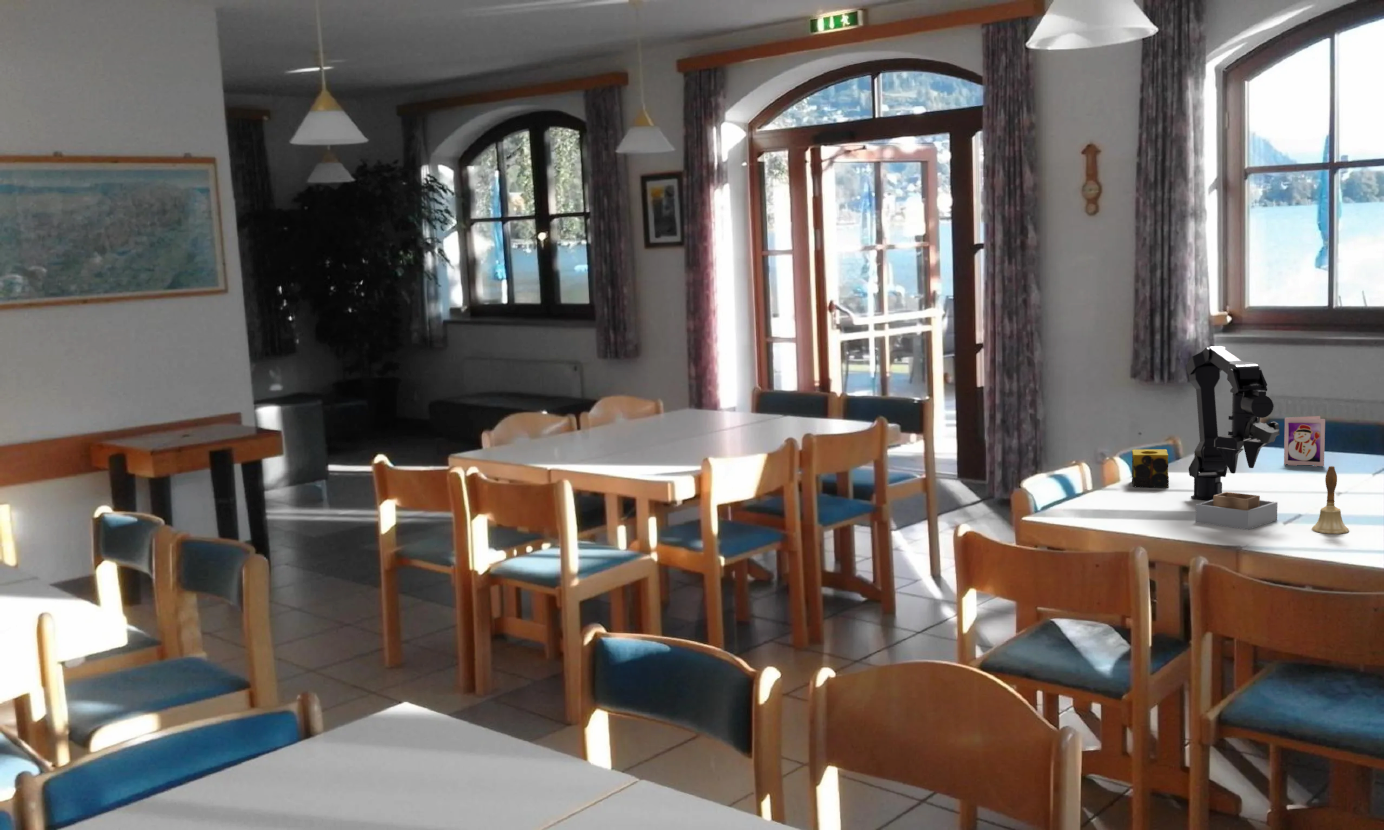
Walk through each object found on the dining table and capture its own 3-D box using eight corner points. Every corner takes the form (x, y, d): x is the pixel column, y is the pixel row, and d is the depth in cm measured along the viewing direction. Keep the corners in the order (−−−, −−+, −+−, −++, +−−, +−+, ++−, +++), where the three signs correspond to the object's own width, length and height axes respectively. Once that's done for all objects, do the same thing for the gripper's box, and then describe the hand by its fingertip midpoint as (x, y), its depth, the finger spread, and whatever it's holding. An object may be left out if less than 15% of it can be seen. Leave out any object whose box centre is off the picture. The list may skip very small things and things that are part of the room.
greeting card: (1283, 465, 409) (1284, 418, 407) (1286, 461, 415) (1287, 414, 414) (1323, 467, 403) (1324, 419, 401) (1326, 463, 409) (1327, 416, 408)
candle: (1167, 482, 390) (1167, 449, 389) (1169, 488, 380) (1169, 454, 379) (1131, 481, 393) (1131, 448, 391) (1132, 487, 383) (1133, 454, 382)
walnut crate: (1213, 518, 336) (1213, 495, 335) (1225, 514, 340) (1226, 491, 339) (1246, 522, 329) (1247, 499, 328) (1259, 518, 333) (1259, 495, 333)
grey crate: (1195, 523, 335) (1195, 504, 335) (1225, 514, 345) (1225, 495, 344) (1248, 531, 325) (1248, 511, 324) (1277, 521, 334) (1277, 502, 333)
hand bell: (1304, 527, 324) (1306, 464, 322) (1336, 526, 325) (1338, 463, 323) (1323, 535, 316) (1325, 470, 314) (1356, 533, 317) (1357, 468, 315)
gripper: (1255, 419, 327) (1253, 480, 329) (1292, 410, 338) (1289, 469, 341) (1213, 415, 336) (1212, 474, 338) (1250, 406, 347) (1249, 463, 349)
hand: (1242, 470), depth 341 cm, fingers open, 9 cm apart
